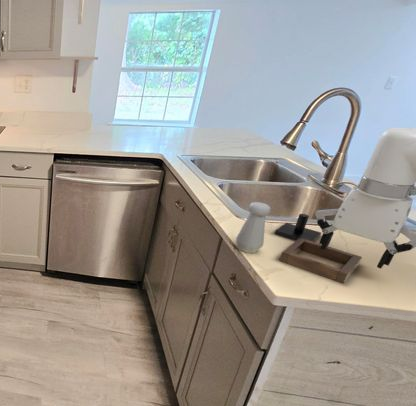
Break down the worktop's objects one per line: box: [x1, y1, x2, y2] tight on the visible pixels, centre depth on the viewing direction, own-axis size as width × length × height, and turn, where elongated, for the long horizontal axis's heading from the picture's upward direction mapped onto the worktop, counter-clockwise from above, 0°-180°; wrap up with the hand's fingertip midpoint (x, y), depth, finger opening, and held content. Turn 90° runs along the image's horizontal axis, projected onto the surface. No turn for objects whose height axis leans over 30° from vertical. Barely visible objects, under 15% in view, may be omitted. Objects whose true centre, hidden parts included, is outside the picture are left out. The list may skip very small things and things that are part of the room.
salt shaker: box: [235, 201, 271, 254], centre depth 93 cm, size 6×6×13 cm
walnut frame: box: [279, 238, 363, 284], centre depth 89 cm, size 12×12×2 cm
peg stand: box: [274, 213, 322, 242], centre depth 101 cm, size 8×8×6 cm
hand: (350, 256), depth 84 cm, fingers open, 9 cm apart
